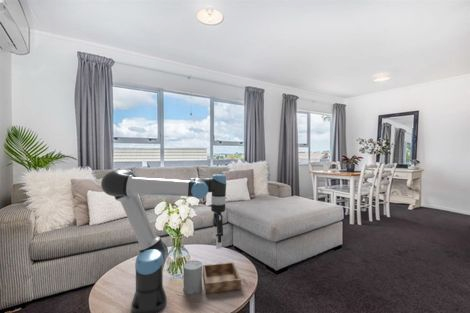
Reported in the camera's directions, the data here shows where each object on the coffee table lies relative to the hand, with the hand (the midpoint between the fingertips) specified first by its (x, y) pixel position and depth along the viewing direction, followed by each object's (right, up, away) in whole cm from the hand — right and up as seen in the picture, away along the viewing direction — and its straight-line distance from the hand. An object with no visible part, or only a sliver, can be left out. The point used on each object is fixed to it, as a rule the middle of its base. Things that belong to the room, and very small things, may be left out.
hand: (216, 243), depth 125 cm
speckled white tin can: (-12, -22, -4) cm, 26 cm away
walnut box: (+2, -22, +2) cm, 22 cm away
